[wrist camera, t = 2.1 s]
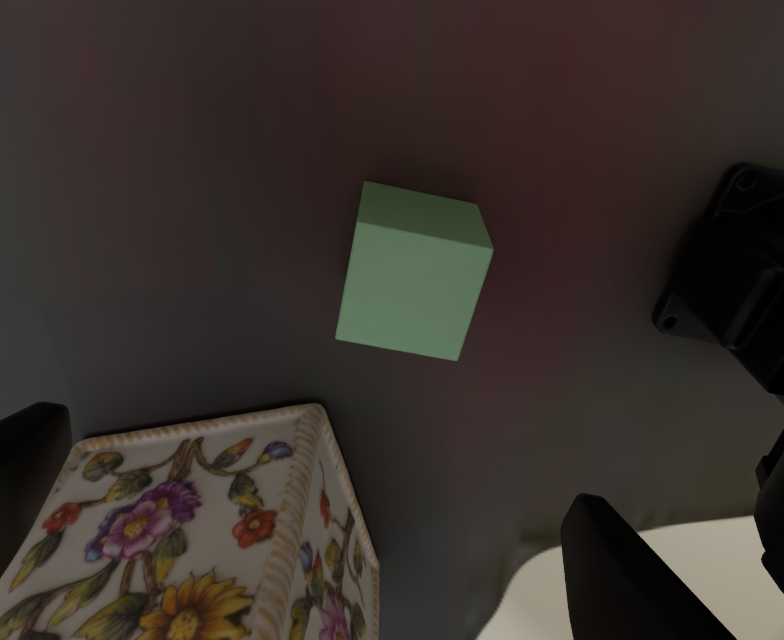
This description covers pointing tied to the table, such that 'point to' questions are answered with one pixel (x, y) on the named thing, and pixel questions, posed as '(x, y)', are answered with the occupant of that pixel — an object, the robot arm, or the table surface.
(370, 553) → the decorative jar
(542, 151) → the table surface
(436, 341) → the block
